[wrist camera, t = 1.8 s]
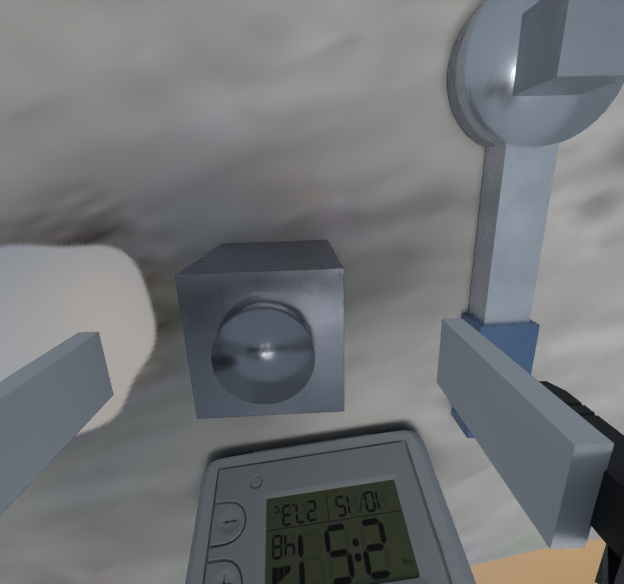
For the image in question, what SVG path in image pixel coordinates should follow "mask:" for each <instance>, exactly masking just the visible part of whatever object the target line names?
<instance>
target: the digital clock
mask: <svg viewBox="0 0 624 584" xmlns="http://www.w3.org/2000/svg"><path fill="white" fill-rule="evenodd" d="M185 584H476V582H475V580H474V577H473V574H472V572H471V569H470V566H469V563H468V560H467V558H466V555H465V552H464V550H463V547H462V544H461V542H460V539H459V536H458V533H457V531H456V528H455V525H454V523H453V520H452V517H451V514H450V512H449V509H448V506H447V504H446V501H445V498H444V495H443V493H442V490H441V487H440V485H439V482H438V479H437V477H436V474H435V471H434V468H433V466H432V463H431V460H430V458H429V455H428V452H427V449H426V447H425V445H424V442H423V440H422V438H421V437H420V436H419V435H418V434H417V433H416V432H414V431H410V430H401V431H393V432H386V433H379V434H372V435H370V433H368V434H362V435H355V436H349V437H342V438H336V439H330V440H323V441H317V442H310V443H304V444H298V445H291V446H285V447H279V448H272V449H266V450H259V451H254V453H250V454H244V455H238V456H232V457H226V458H221V459H218V460H215V461H213V462H212V463H210V464H209V465H208V466H207V468H206V470H205V473H204V476H203V481H202V486H201V492H200V498H199V504H198V510H197V516H196V522H195V528H194V534H193V540H192V546H191V553H190V559H189V565H188V571H187V577H186V583H185Z"/></svg>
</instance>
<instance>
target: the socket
mask: <svg viewBox="0 0 624 584" xmlns="http://www.w3.org/2000/svg"><path fill="white" fill-rule="evenodd" d="M175 278H176V284H177V291H178V297H179V304H180V310H181V317H182V323H183V330H184V336H185V343H186V349H187V356H188V362H189V368H190V375H191V381H192V388H193V394H194V401H195V407H196V414H197V419H201V418H221V417H240V416H260V415H280V414H300V413H320V412H340V411H344V268H343V267H342V265H341V263H340V261H339V260H338V258H337V256H336V254H335V253H334V251H333V249H332V247H331V246H330V244H329V242H328V240H312V241H285V242H259V243H232V244H221V245H219V246H218V247H216V248H215V249H213V250H212V251H210V252H209V253H207V254H206V255H204V256H203V257H201V258H200V259H198V260H197V261H195V262H194V263H193V264H191V265H190V266H188V267H187V268H185V269H184V270H182V271H181V272H179V273H178V274H176V275H175Z"/></svg>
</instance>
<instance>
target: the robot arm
mask: <svg viewBox="0 0 624 584" xmlns="http://www.w3.org/2000/svg"><path fill="white" fill-rule="evenodd" d="M437 383H438V385H439V386H440V388H441V389H442V391H443V392H444V394H445V395H446V396H447V398H448V399H449V401H450V402H451V404H452V405H453V407H454V408H455V410H456V411H457V413H458V414H459V416H460V417H461V418H462V420H463V421H464V423H465V424H466V426H467V427H468V429H469V430H470V432H471V433H472V435H473V436H474V438H475V439H476V441H477V442H478V443H479V445H480V446H481V448H482V449H483V451H484V452H485V454H486V455H487V457H488V458H489V460H490V461H491V463H492V464H493V465H494V467H495V468H496V470H497V471H498V473H499V474H500V476H501V477H502V479H503V480H504V482H505V483H506V485H507V486H508V488H509V489H510V490H511V492H512V493H513V495H514V496H515V498H516V499H517V501H518V502H519V504H520V505H521V507H522V508H523V510H524V511H525V512H526V514H527V515H528V517H529V518H530V520H531V521H532V523H533V524H534V526H535V527H536V529H537V530H538V532H539V533H540V534H541V536H542V537H543V539H544V540H545V542H546V543H547V545H548V546H549V548H550V549H561V548H582V547H583V548H584V547H585V546H586V543H587V539H588V535H589V532H590V528H591V526H592V527H593V528H594V530H595V531H596V532H597V533H598V534H599V536H600V537H601V538H602V539H603V540H604V541H605V543H606V547H605V550H604V553H603V556H602V560H601V563H600V566H599V570H598V573H597V576H596V579H595V582H596V583H598V584H602V583H603V584H624V435H622V434H621V433H620V432H618V431H617V430H616V429H615V428H613V427H612V426H611V425H609V424H608V423H607V422H606V421H604V420H603V419H602V418H600V417H599V416H595V413H594V412H593V411H591V410H590V409H589V408H587V407H586V406H585V405H582V403H581V402H580V401H578V400H577V399H576V398H574V397H573V396H572V395H571V394H569V393H568V392H567V391H565V390H563V389H561V388H559V387H557V386H555V385H553V384H551V383H549V382H547V381H538V380H536V379H535V378H534V377H533V376H531V375H530V374H529V373H528V372H527V371H525V370H524V369H523V368H522V367H521V366H519V365H518V364H517V363H516V362H514V361H513V360H512V359H511V358H510V357H508V356H507V355H506V354H505V353H504V352H502V351H501V350H500V349H499V348H497V347H496V346H495V345H494V344H493V343H491V342H490V341H489V340H488V339H487V338H485V337H484V336H483V335H482V334H480V333H479V332H478V331H477V330H476V329H474V328H473V327H472V326H471V325H470V324H468V323H467V322H466V321H465V320H463V319H442V329H441V340H440V352H439V363H438V375H437ZM112 396H113V391H112V386H111V382H110V378H109V374H108V370H107V365H106V361H105V357H104V352H103V348H102V344H101V340H100V336H99V332H83V333H77V334H76V335H74V336H72V337H71V338H69V339H68V340H66V341H64V342H63V343H61V344H60V345H58V346H57V347H55V348H54V349H52V350H50V351H48V352H47V353H45V354H44V355H42V356H41V357H39V358H37V359H36V360H34V361H33V362H31V363H29V364H28V365H26V366H25V367H23V368H21V369H20V370H18V371H17V372H15V373H14V374H12V375H10V376H9V377H7V378H6V379H4V380H2V381H1V382H0V515H1V514H2V513H3V512H4V511H5V510H6V509H7V508H8V507H9V506H10V505H11V504H12V503H13V501H14V500H15V499H16V498H17V497H18V496H19V495H20V494H21V493H22V492H23V491H24V490H25V489H26V488H27V487H28V485H29V484H30V483H31V482H32V481H33V480H34V479H35V478H36V477H37V476H38V475H39V474H40V473H41V472H42V471H43V469H44V468H45V467H46V466H47V465H48V464H49V463H50V462H51V461H52V460H53V459H54V458H55V457H56V456H57V454H58V453H59V452H60V451H61V450H62V449H63V448H64V447H65V446H66V445H67V444H68V443H69V442H70V441H71V440H72V438H73V437H74V436H75V435H76V434H77V433H78V432H79V431H80V430H81V429H82V427H84V426H85V424H86V423H87V422H88V421H89V420H90V419H91V418H92V417H93V416H94V415H95V414H96V413H97V412H98V411H99V410H100V409H101V407H102V406H103V405H104V404H105V403H106V402H107V401H108V400H109V399H110V398H111V397H112Z"/></svg>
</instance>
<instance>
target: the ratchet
mask: <svg viewBox="0 0 624 584" xmlns="http://www.w3.org/2000/svg"><path fill="white" fill-rule="evenodd" d="M623 83H624V0H486V1H485V2H484V3H483V4H482V5H481V6H480V7H479V8H478V9H477V10H476V11H475V12H474V13H473V15H472V16H471V17H470V18H469V20H468V21H467V22H466V24H465V25H464V27H463V29H462V30H461V32H460V34H459V36H458V38H457V40H456V42H455V45H454V48H453V50H452V53H451V57H450V61H449V67H448V74H447V88H448V97H449V102H450V106H451V109H452V112H453V114H454V117H455V119H456V120H457V122H458V124H459V125H460V127H461V128H462V130H463V131H464V132H465V133H466V134H467V135H468V136H469V137H470V138H471V139H472V140H474V141H475V142H476V143H478V144H480V145H482V146H484V147H486V154H485V164H484V173H483V182H482V191H481V200H480V210H479V219H478V228H477V237H476V246H475V255H474V265H473V274H472V283H471V292H470V301H469V310H468V313H463V314H462V319H463V320H465V321H466V322H467V323H468V324H470V325H471V326H472V327H473V328H474V329H476V330H477V331H478V332H479V333H480V334H482V335H483V336H484V337H485V338H487V339H488V340H489V341H490V342H491V343H493V344H494V345H495V346H496V347H497V348H499V349H500V350H501V351H502V352H504V353H505V354H506V355H507V356H508V357H510V358H511V359H512V360H513V361H514V362H516V363H517V364H518V365H519V366H521V367H522V368H523V369H524V370H525V371H527V372H528V373H529V374H530V375H531V371H532V366H533V360H534V354H535V349H536V343H537V337H538V332H539V326H540V325H539V324H537V323H535V322H534V321H532V320H530V313H531V307H532V301H533V295H534V289H535V283H536V277H537V271H538V265H539V259H540V253H541V247H542V240H543V234H544V228H545V222H546V216H547V210H548V204H549V198H550V192H551V186H552V180H553V174H554V168H555V162H556V156H557V150H558V144H559V142H562V141H564V140H567V139H569V138H571V137H573V136H575V135H577V134H579V133H580V132H582V131H583V130H585V129H586V128H588V127H589V126H590V125H591V124H592V123H594V122H595V121H596V120H597V119H598V118H599V117H600V116H601V115H602V114H603V113H604V112H605V111H606V109H607V108H608V107H609V106H610V104H611V103H612V102H613V100H614V99H615V97H616V96H617V94H618V92H619V91H620V89H621V87H622V85H623ZM452 416H453V418H454V419H455V421H456V422H457V424H458V425H459V427H460V428H461V430H462V431H463V433H464V434H465V436H466V437H467V438H474V436H473V435H472V433H471V432H470V430H469V429H468V427H467V426H466V424H465V423H464V421H463V420H462V418H461V417H460V416H459V414H458V413H457V411H456V410H455V408H454V407H453V408H452Z"/></svg>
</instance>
